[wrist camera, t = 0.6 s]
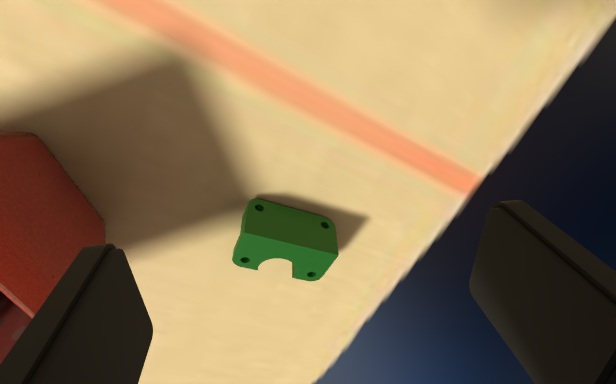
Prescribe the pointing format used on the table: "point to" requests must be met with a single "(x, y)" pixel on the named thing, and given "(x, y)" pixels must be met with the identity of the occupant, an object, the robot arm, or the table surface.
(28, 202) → the plant pot
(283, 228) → the clamp
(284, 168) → the table surface
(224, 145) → the table surface
